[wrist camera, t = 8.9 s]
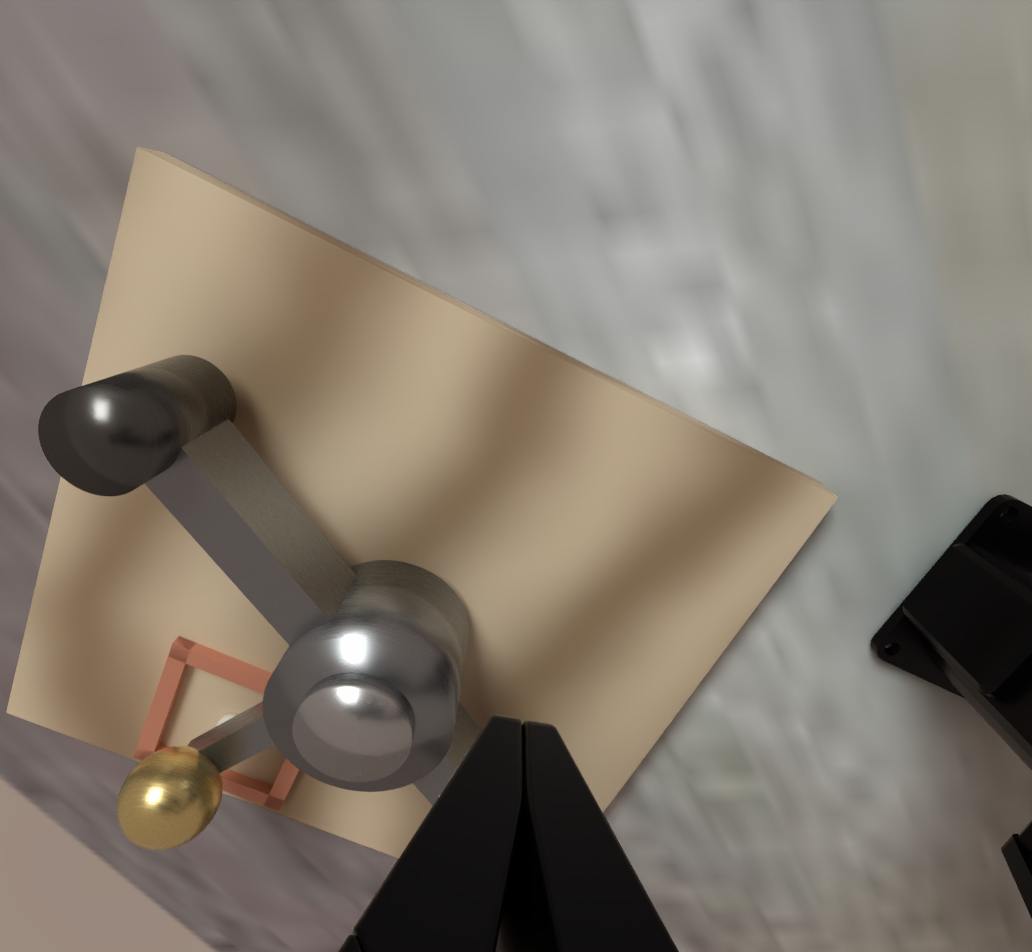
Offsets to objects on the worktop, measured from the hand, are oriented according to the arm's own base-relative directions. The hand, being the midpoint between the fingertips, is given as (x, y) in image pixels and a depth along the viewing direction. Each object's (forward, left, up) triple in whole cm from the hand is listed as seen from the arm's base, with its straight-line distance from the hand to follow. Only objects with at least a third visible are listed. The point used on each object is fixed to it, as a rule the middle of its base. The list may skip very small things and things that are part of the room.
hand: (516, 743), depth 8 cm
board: (+2, +7, -12) cm, 14 cm away
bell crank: (+3, +10, -10) cm, 14 cm away
